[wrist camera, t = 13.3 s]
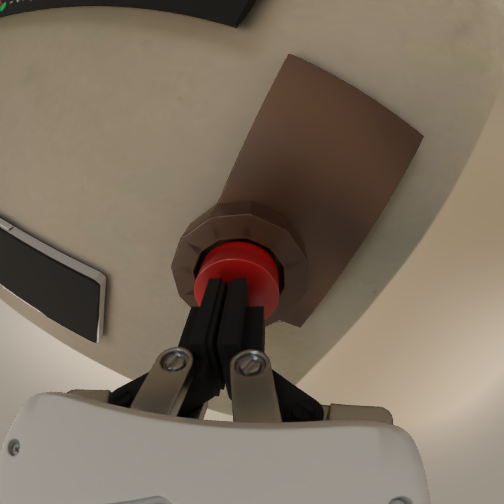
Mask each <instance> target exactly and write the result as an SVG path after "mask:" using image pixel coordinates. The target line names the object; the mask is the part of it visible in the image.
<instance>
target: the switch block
mask: <svg viewBox="0 0 504 504" xmlns="http://www.w3.org/2000/svg"><path fill="white" fill-rule="evenodd" d="M423 137H424V136H423V135H422V134H420V133H419V132H418V131H417V130H415V129H414V128H413V127H411V126H410V125H409V124H408V123H406V122H405V121H404V120H402V119H401V118H400V117H398V116H397V115H396V114H394V113H393V112H391V111H390V110H389V109H387V108H386V107H384V106H383V105H381V104H380V103H378V102H377V101H375V100H374V99H372V98H371V97H369V96H368V95H366V94H365V93H363V92H361V91H360V90H358V89H356V88H355V87H353V86H351V85H350V84H348V83H346V82H345V81H343V80H341V79H339V78H338V77H336V76H334V75H332V74H330V73H328V72H326V71H325V70H323V69H321V68H319V67H317V66H315V65H313V64H311V63H309V62H307V61H304V60H302V59H300V58H298V57H296V56H294V55H291V54H288V56H287V58H286V60H285V62H284V64H283V65H282V67H281V69H280V71H279V73H278V75H277V77H276V79H275V81H274V83H273V85H272V87H271V89H270V91H269V93H268V95H267V97H266V99H265V101H264V103H263V105H262V107H261V109H260V111H259V113H258V115H257V117H256V119H255V121H254V123H253V125H252V127H251V130H250V132H249V134H248V136H247V138H246V140H245V142H244V144H243V147H242V149H241V151H240V153H239V155H238V158H237V160H236V162H235V164H234V166H233V169H232V171H231V173H230V175H229V178H228V180H227V182H226V185H225V187H224V189H223V191H222V194H221V196H220V198H219V201H218V203H217V205H216V206H214V207H212V208H211V209H210V210H208V211H207V212H205V213H204V214H203V215H201V216H200V217H199V218H197V219H196V220H194V221H193V222H192V223H191V224H190V225H189V226H188V228H187V229H186V231H185V232H184V234H183V236H182V237H181V239H180V242H179V244H178V247H177V250H176V253H175V256H174V259H173V262H172V267H171V268H172V272H173V275H174V279H175V282H176V286H177V289H178V293H179V295H180V297H181V298H182V299H183V300H184V301H185V302H186V303H187V304H188V305H189V306H190V307H191V308H192V307H193V306H197V307H200V306H199V305H198V303H197V301H196V298H195V294H194V285H195V281H196V278H197V276H198V273H199V271H200V268H201V266H202V263H203V261H204V259H205V257H206V256H207V254H208V253H209V252H210V251H211V250H212V249H214V248H215V247H217V246H219V245H221V244H223V243H227V242H232V241H243V242H248V243H252V244H255V245H257V246H259V247H261V248H262V249H264V250H265V251H266V252H267V253H269V254H270V256H271V257H272V258H273V259H274V261H275V263H276V265H277V268H278V273H279V302H278V305H277V307H276V309H275V310H274V312H273V313H272V314H271V315H270V316H269V317H268V318H267V319H265V326H268V325H270V324H272V323H274V322H276V321H278V320H281V321H284V322H286V323H289V324H292V325H295V326H298V327H301V326H302V325H303V324H304V322H305V321H306V320H307V319H308V317H309V316H310V315H311V313H312V312H313V311H314V309H315V308H316V307H317V306H318V304H319V303H320V302H321V300H322V299H323V298H324V296H325V295H326V293H327V292H328V291H329V289H330V288H331V287H332V285H333V284H334V282H335V281H336V280H337V278H338V277H339V275H340V274H341V273H342V271H343V270H344V268H345V267H346V265H347V264H348V263H349V261H350V260H351V258H352V257H353V255H354V254H355V252H356V251H357V249H358V248H359V246H360V245H361V243H362V242H363V240H364V239H365V237H366V236H367V234H368V233H369V231H370V230H371V228H372V226H373V225H374V223H375V222H376V220H377V219H378V217H379V215H380V214H381V212H382V210H383V209H384V207H385V206H386V204H387V202H388V201H389V199H390V197H391V196H392V194H393V192H394V190H395V189H396V187H397V185H398V184H399V182H400V180H401V178H402V177H403V175H404V173H405V171H406V169H407V168H408V166H409V164H410V162H411V160H412V158H413V157H414V155H415V153H416V151H417V149H418V147H419V145H420V143H421V141H422V139H423Z"/></svg>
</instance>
